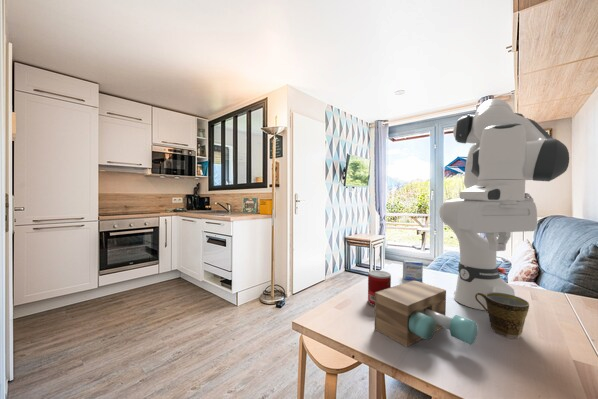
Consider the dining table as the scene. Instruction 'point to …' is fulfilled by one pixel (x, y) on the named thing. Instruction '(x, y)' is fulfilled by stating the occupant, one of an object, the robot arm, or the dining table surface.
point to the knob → (456, 326)
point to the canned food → (377, 283)
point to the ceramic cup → (505, 313)
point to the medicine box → (412, 270)
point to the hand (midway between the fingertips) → (497, 250)
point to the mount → (408, 311)
